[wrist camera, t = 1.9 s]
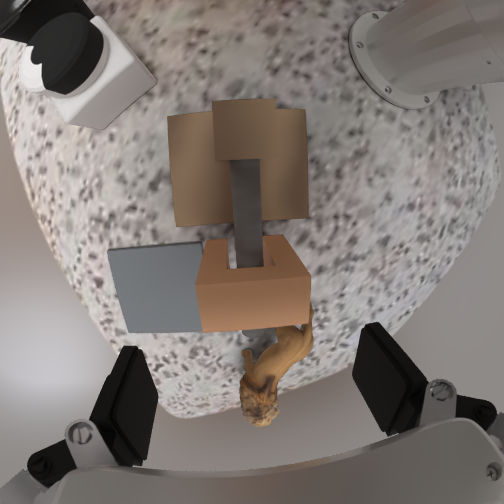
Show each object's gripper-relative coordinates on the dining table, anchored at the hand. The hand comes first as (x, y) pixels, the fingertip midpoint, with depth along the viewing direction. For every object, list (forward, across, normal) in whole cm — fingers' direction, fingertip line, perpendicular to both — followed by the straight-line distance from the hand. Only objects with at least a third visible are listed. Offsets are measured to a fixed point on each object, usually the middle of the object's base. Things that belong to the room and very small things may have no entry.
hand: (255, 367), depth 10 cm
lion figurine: (+17, -3, +12) cm, 21 cm away
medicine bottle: (+17, +11, -18) cm, 27 cm away
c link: (+12, -1, -1) cm, 12 cm away
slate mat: (+17, +8, +4) cm, 19 cm away
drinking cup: (+17, +15, -25) cm, 34 cm away
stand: (+17, -1, -5) cm, 17 cm away
